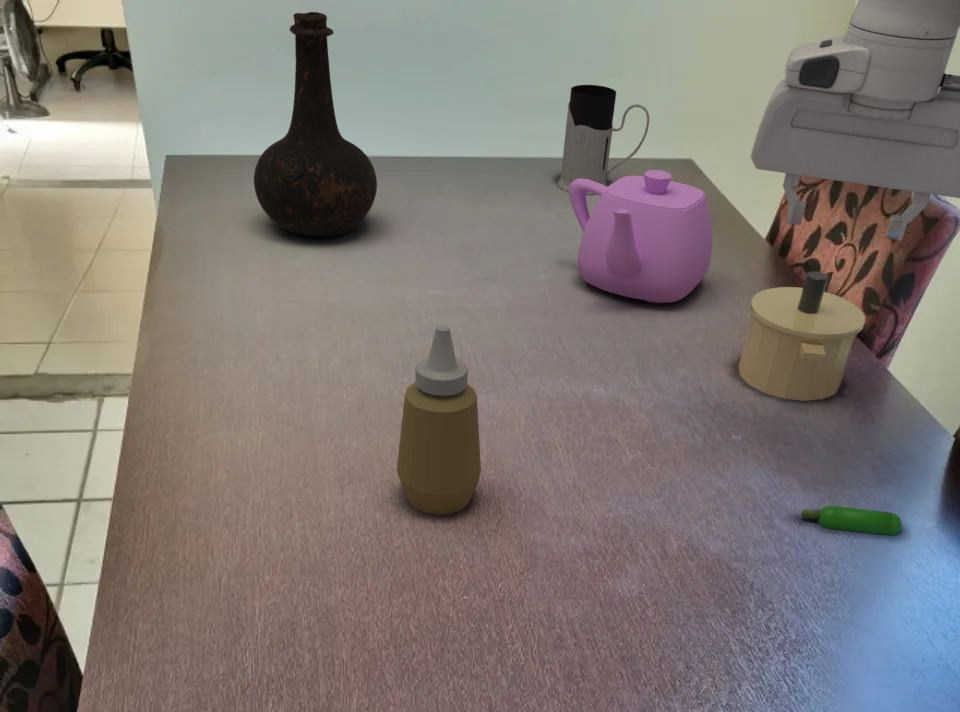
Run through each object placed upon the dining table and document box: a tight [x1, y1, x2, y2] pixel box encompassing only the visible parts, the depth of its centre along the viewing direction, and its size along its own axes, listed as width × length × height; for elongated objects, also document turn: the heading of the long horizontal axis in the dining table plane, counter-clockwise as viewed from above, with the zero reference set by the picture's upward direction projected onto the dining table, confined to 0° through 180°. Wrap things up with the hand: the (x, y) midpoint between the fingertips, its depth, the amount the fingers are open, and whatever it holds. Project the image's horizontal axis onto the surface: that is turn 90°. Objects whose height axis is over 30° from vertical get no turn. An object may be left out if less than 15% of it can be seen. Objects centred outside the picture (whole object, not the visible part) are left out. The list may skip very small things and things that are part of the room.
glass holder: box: [557, 84, 650, 196], centre depth 164 cm, size 9×14×15 cm, turn 75°
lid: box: [749, 270, 866, 339], centre depth 112 cm, size 13×13×5 cm
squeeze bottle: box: [396, 324, 482, 516], centre depth 89 cm, size 8×8×18 cm
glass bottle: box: [253, 11, 378, 238], centre depth 139 cm, size 18×18×28 cm
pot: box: [738, 312, 858, 402], centre depth 116 cm, size 12×17×8 cm
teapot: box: [568, 169, 713, 304], centre depth 132 cm, size 23×21×15 cm
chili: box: [800, 505, 902, 536], centre depth 95 cm, size 10×2×2 cm, turn 83°
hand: (842, 230), depth 94 cm, fingers open, 8 cm apart
